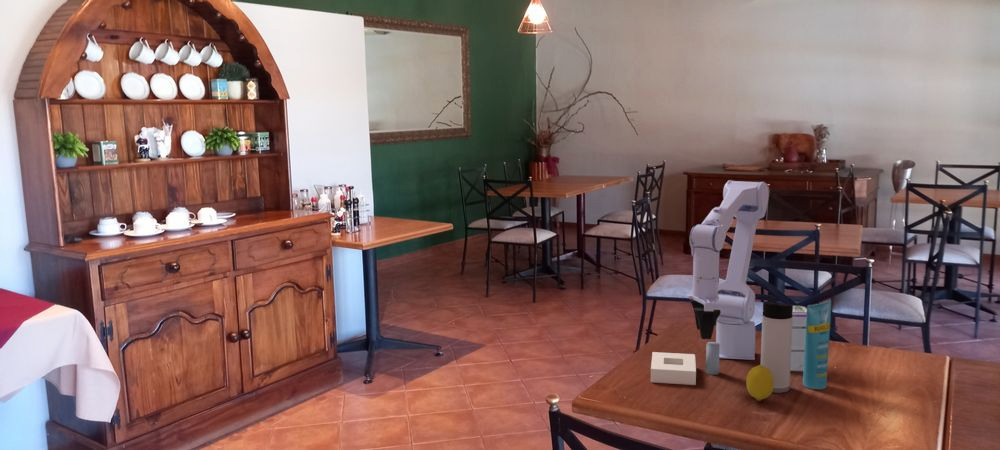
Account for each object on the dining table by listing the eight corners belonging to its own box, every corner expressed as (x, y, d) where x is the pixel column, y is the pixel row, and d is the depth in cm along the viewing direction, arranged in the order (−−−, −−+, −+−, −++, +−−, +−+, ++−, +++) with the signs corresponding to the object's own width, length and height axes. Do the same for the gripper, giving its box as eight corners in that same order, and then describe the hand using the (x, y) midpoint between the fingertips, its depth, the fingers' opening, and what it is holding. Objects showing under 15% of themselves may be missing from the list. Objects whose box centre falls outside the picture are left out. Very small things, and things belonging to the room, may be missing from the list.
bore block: (694, 367, 184) (694, 354, 184) (695, 385, 173) (696, 371, 172) (652, 364, 187) (652, 352, 186) (650, 382, 175) (650, 368, 175)
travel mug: (757, 391, 168) (760, 303, 165) (762, 381, 174) (765, 296, 171) (787, 395, 166) (791, 306, 162) (791, 385, 171) (795, 298, 168)
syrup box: (809, 371, 180) (811, 312, 177) (782, 370, 181) (785, 311, 178) (803, 363, 185) (806, 305, 183) (778, 362, 186) (780, 304, 184)
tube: (814, 392, 167) (818, 307, 164) (794, 386, 171) (798, 302, 168) (834, 385, 171) (838, 302, 168) (815, 379, 175) (819, 297, 172)
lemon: (776, 405, 160) (778, 369, 159) (750, 406, 160) (751, 369, 159) (768, 395, 166) (769, 360, 165) (742, 396, 166) (743, 360, 165)
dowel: (718, 370, 182) (719, 342, 181) (719, 375, 179) (720, 346, 178) (705, 369, 182) (706, 341, 181) (705, 374, 179) (706, 345, 178)
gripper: (684, 269, 183) (682, 324, 185) (691, 283, 169) (689, 342, 171) (714, 270, 183) (712, 325, 184) (724, 283, 168) (722, 343, 170)
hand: (703, 333), depth 178 cm, fingers open, 7 cm apart
